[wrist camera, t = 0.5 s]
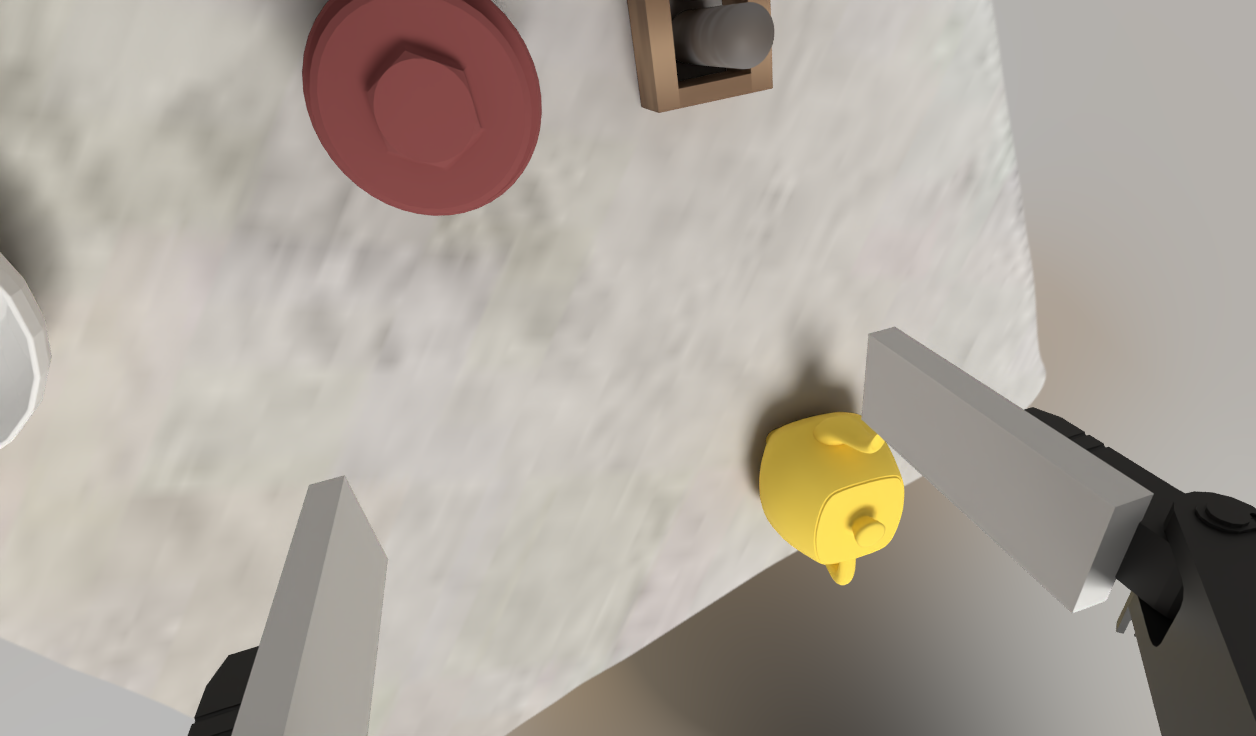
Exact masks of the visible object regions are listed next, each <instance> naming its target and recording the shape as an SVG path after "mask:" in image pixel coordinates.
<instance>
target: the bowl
mask: <svg viewBox="0 0 1256 736" xmlns="http://www.w3.org/2000/svg"><path fill="white" fill-rule="evenodd" d="M51 357H52V355H51V350H50V344H49V338H48V333H47V327H46V321H45V319H44V316H43V313H42V311H41V310H40V308H39V306H38V304H37V302H36V300H35V298H34V296H33V294H32V292H31V291H30V289H29V287H28V285H27V283H26V281H25V279H24V278H23V277H22V276H21V275H20V274H19V273H18V271H17V270H16V269H15V268H14V267H13V266H12V265H11V264H10V262H9V261H8V260H7V259H6V258H5V257H4V256H3V255H2V254H1V252H0V449H1V448H3V447H4V446H5V445H7V444H8V443H10V442H11V441H13V440H14V438H15V437H16V436H17V434H18V433H19V432H20V431H21V429H22V428H23V427H24V425H25V424H26V422H27V421H28V420H29V418H30V417H31V416H32V414H33V413H34V411H35V410H36V409H37V407H38V406H39V404H40V403H41V402H42V400H43V395H44V391H45V386H46V381H47V376H48V371H49V367H50V362H51Z"/></svg>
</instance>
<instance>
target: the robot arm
mask: <svg viewBox="0 0 1256 736" xmlns="http://www.w3.org/2000/svg"><path fill="white" fill-rule="evenodd" d="M861 419H862V420H863V421H864V422H865V423H866V424H867V425H868V426H869V427H870V428H871V429H872V430H874V431H875V432H876V433H877V434H878V435H879V436H880V437H881V438H882V439H883V440H884V441H886V442H887V443H888V444H889V445H890V446H891V447H892V448H893V449H894V450H895V451H896V452H897V453H899V454H900V455H901V456H902V457H903V458H904V459H905V460H906V461H907V462H908V463H909V464H910V465H912V466H913V467H914V468H915V469H916V470H917V471H918V472H919V473H920V474H921V475H922V476H924V477H925V478H926V479H927V480H928V481H929V482H930V483H931V484H932V485H934V487H936V488H937V489H938V490H939V491H940V492H941V493H942V494H943V495H944V496H945V497H946V498H948V500H950V501H951V502H952V503H953V504H954V505H955V506H956V507H957V508H958V509H959V510H961V511H962V512H963V513H964V514H965V515H966V516H967V517H968V518H969V519H970V520H971V521H972V522H973V523H975V524H976V525H977V526H978V527H979V528H980V529H981V530H982V531H983V532H985V534H987V535H988V536H989V537H990V538H991V539H992V540H993V541H994V542H995V543H996V544H997V545H999V546H1000V547H1001V548H1002V549H1003V550H1004V551H1005V552H1006V553H1007V554H1008V555H1009V556H1011V557H1012V558H1013V559H1014V560H1015V561H1016V562H1017V563H1018V564H1019V565H1020V566H1021V567H1022V568H1023V569H1025V570H1026V571H1027V572H1028V573H1029V574H1030V575H1031V576H1032V577H1033V578H1034V579H1036V581H1038V582H1039V583H1040V584H1041V585H1042V586H1043V587H1044V588H1045V589H1046V590H1047V591H1049V592H1050V593H1051V594H1052V595H1053V596H1054V597H1055V598H1056V599H1057V600H1058V601H1059V602H1061V603H1062V604H1063V605H1064V606H1065V607H1066V608H1067V609H1068V610H1069V611H1070V612H1072V613H1074V612H1077V611H1080V610H1083V609H1085V608H1088V607H1091V606H1093V605H1096V604H1099V603H1101V602H1104V601H1106V600H1107V598H1108V596H1109V593H1110V591H1111V589H1112V587H1113V584H1114V582H1115V580H1116V579H1117V580H1119V581H1120V582H1121V583H1122V584H1124V585H1125V586H1126V587H1127V588H1128V589H1130V590H1131V593H1130V595H1129V597H1128V599H1127V602H1126V604H1125V606H1124V608H1123V610H1122V612H1121V615H1120V616H1119V618H1118V621H1117V626H1116V632H1119V633H1124V631H1125V630H1126V628H1127V626H1128V623H1129V621H1130V620H1132V622H1133V626H1134V630H1135V634H1134V636H1135V637H1136V638H1137V642H1138V646H1139V649H1140V653H1141V657H1142V661H1143V665H1144V669H1145V673H1146V677H1147V680H1148V684H1149V688H1150V692H1151V696H1152V700H1153V704H1154V708H1155V711H1156V715H1157V719H1158V723H1159V727H1160V731H1161V735H1162V736H1256V508H1254V507H1253V506H1251V505H1249V504H1246V503H1244V502H1242V501H1239V500H1237V499H1235V498H1232V497H1229V496H1224V495H1220V494H1216V493H1211V492H1190V493H1186V494H1185V493H1183V492H1182V491H1179V490H1178V489H1176V488H1174V487H1173V486H1171V485H1170V484H1168V483H1167V482H1165V481H1163V480H1162V479H1160V478H1158V477H1157V476H1155V475H1154V474H1152V473H1150V472H1149V471H1147V470H1145V469H1144V468H1142V467H1141V466H1139V465H1137V464H1136V463H1134V462H1133V461H1131V460H1129V459H1128V458H1126V457H1124V456H1123V455H1121V454H1120V453H1118V452H1116V451H1115V450H1113V449H1111V448H1110V447H1107V448H1106V447H1105V446H1104V444H1103V443H1102V442H1100V441H1099V440H1097V439H1095V438H1094V437H1092V436H1090V435H1085V432H1084V431H1082V430H1081V429H1079V428H1077V427H1076V426H1074V425H1073V424H1071V423H1069V422H1067V421H1066V420H1065V419H1063V418H1061V417H1059V416H1056V415H1053V414H1050V413H1047V412H1045V411H1042V410H1039V409H1036V408H1034V407H1032V408H1028V409H1025V410H1023V409H1022V408H1020V407H1019V406H1017V405H1015V404H1014V403H1012V402H1011V401H1009V400H1008V399H1006V398H1005V397H1003V396H1002V395H1000V394H998V393H997V392H995V391H994V390H992V389H991V388H989V387H988V386H986V385H984V384H983V383H981V382H980V381H978V380H977V379H975V378H974V377H972V376H970V375H969V374H967V373H966V372H964V371H963V370H961V369H960V368H958V367H957V366H955V365H953V364H952V363H950V362H949V361H947V360H946V359H944V358H943V357H941V356H939V355H938V354H936V353H935V352H933V351H932V350H930V349H929V348H927V347H926V346H924V345H922V344H921V343H919V342H918V341H916V340H915V339H913V338H912V337H910V336H908V335H907V334H905V333H904V332H902V331H901V330H899V329H898V328H896V327H892V328H888V329H885V330H881V331H877V332H874V333H870V334H869V335H868V347H867V359H866V370H865V382H864V394H863V406H862V417H861ZM387 562H388V558H387V556H386V554H385V552H384V550H383V548H382V546H381V544H380V542H379V541H378V539H377V537H376V535H375V533H374V531H373V529H372V527H371V525H370V523H369V521H368V519H367V517H366V515H365V514H364V512H363V510H362V508H361V506H360V504H359V502H358V500H357V498H356V496H355V494H354V492H353V490H352V488H351V486H350V485H349V483H348V481H347V479H346V477H345V475H344V476H341V477H337V478H333V479H330V480H326V481H322V482H319V483H315V484H311V485H309V487H308V490H307V494H306V497H305V500H304V503H303V507H302V510H301V513H300V516H299V519H298V523H297V526H296V529H295V532H294V535H293V539H292V542H291V545H290V548H289V552H288V555H287V558H286V561H285V564H284V568H283V571H282V574H281V577H280V581H279V584H278V587H277V590H276V593H275V597H274V600H273V603H272V606H271V609H270V613H269V616H268V619H267V622H266V626H265V629H264V632H263V635H262V638H261V642H260V645H259V646H257V647H254V648H251V649H248V650H244V651H241V652H238V653H235V654H231V655H228V657H227V658H226V660H225V661H224V662H223V664H222V665H221V666H220V668H219V669H218V671H217V672H216V673H215V675H214V676H213V677H212V679H211V680H210V682H209V683H208V684H207V686H206V688H205V691H204V693H203V696H202V699H201V701H200V704H199V707H198V709H197V712H196V715H195V717H194V718H195V723H194V724H192V726H191V728H190V731H189V734H188V736H368V727H369V718H370V710H371V701H372V692H373V684H374V675H375V666H376V658H377V649H378V640H379V632H380V623H381V614H382V606H383V597H384V588H385V580H386V571H387Z"/></svg>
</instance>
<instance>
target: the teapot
mask: <svg viewBox="0 0 1256 736" xmlns="http://www.w3.org/2000/svg"><path fill="white" fill-rule="evenodd" d="M861 417H862V416H861V415H858V414H854V413H847V412H834V413H827V414H821V415H817V416H812V417H809V418H805V419H801V420H798V421H795V422H792V423H789V424H787V425H784V426H782V427H780V428H777V429H774V430H772V431H771V432H770V433H769V434H768V436H767V438H766V444H767V445H766V447H765V450H764V454H763V458H762V462H761V467H760V477H759V490H760V499H761V503H762V507H763V510H764V513H765V515H766V517H767V519H768V521H769V522H770V524H771V525H772V527H773V528H774V529H775V530H776V531H777V532H778V533H779V535H780V536H781V537H782V538H783V539H784V540H785V541H787V542H788V543H789V544H790V545H791V546H793V547H794V548H796V549H797V550H799V551H800V552H802V553H804V554H805V555H807V556H809V557H810V558H812V559H813V560H815V561H817V562H819V563H821V564H825V565H826V567H827V569H828V571H829V573H830V575H831V577H832V578H833V580H834V581H835V582H836V583H838V584H840V585H845V584H848V583H849V582H850V581H851V579H852V578H853V575H854V571H855V563H856V558H858V557H861V556H864V555H867V554H870V553H872V552H875V551H877V550H879V549H882V548H884V547H885V546H886V545H887V544H888V543H889V542H890V540H891V539H892V537H893V536H894V534H895V532H896V529H897V527H898V524H899V521H900V518H901V514H902V511H903V503H904V484H903V480H902V477H901V474H900V471H899V469H898V466H897V464H896V462H895V459H894V457H893V455H892V453H891V450H890V448H889V447H888V445H887V443H886V441H884V440H883V439H882V438H881V437H880V436H879V435H878V434H877V433H876V432H875V431H874V430H872V429H871V428H870V427H869V426H868V425H867V424H866V423H865V422H864V421H863V420H862V419H861Z"/></svg>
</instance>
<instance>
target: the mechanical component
mask: <svg viewBox="0 0 1256 736" xmlns="http://www.w3.org/2000/svg"><path fill="white" fill-rule="evenodd" d="M302 77H303V92H304V97H305V102H306V107H307V111H308V114H309V116H310V119H311V122H312V125H313V128H314V130H315V132H316V134H317V136H318V138H319V140H320V142H321V144H322V145H323V147H324V148H325V150H326V151H327V153H328V154H329V156H330V157H331V159H332V160H333V161H334V162H335V164H336V165H337V166H338V167H339V168H340V169H341V171H342V172H343V173H344V174H345V175H346V176H347V177H348V178H350V179H351V180H352V181H353V182H354V183H355V184H356V185H357V186H359V187H360V188H361V189H363V190H364V191H366V192H367V193H368V194H370V195H371V196H373V197H375V198H377V199H379V200H380V201H382V202H384V203H386V204H388V205H391V206H393V207H396V208H399V209H401V210H405V211H409V212H413V213H417V214H424V215H433V216H438V215H454V214H460V213H465V212H468V211H471V210H474V209H477V208H480V207H482V206H484V205H486V204H488V203H490V202H492V201H493V200H495V199H496V198H498V197H499V196H500V195H502V194H503V193H504V192H505V191H507V190H508V189H509V188H510V187H511V186H512V185H513V184H514V183H515V182H516V180H517V179H518V178H519V177H520V175H521V174H522V173H523V171H524V170H525V168H526V166H527V164H528V163H529V161H530V159H531V157H532V154H533V152H534V149H535V147H536V144H537V140H538V136H539V131H540V124H541V115H542V108H541V92H540V86H539V80H538V76H537V73H536V69H535V66H534V63H533V60H532V58H531V56H530V53H529V51H528V49H527V46H526V44H525V43H524V41H523V39H522V38H521V36H520V34H519V33H518V31H517V29H516V28H515V27H514V25H513V24H512V23H511V22H510V20H509V19H508V18H507V16H506V15H505V14H504V13H503V12H502V11H501V10H500V9H499V8H498V7H497V6H496V5H495V4H494V3H493V2H492V1H491V0H329V1H328V2H327V3H326V4H325V6H324V7H323V9H322V10H321V12H320V13H319V15H318V16H317V18H316V19H315V22H314V24H313V26H312V28H311V31H310V33H309V35H308V39H307V43H306V47H305V51H304V57H303V69H302Z"/></svg>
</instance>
